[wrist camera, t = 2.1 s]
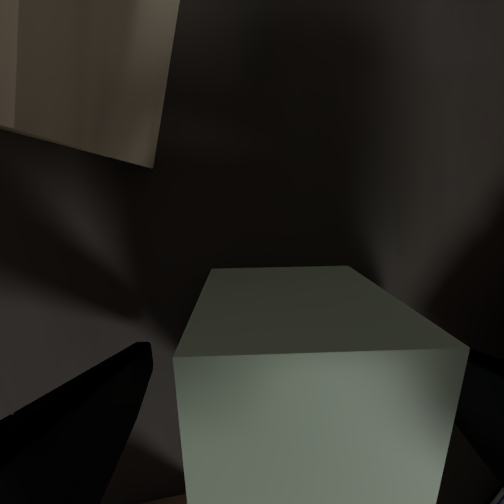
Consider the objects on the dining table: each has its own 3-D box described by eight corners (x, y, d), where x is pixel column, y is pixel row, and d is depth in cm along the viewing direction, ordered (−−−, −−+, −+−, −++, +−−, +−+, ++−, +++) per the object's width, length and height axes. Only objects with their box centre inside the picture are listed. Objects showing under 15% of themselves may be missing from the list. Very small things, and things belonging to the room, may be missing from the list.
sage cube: (217, 384, 10) (193, 565, 5) (211, 267, 9) (172, 357, 4) (337, 380, 10) (425, 551, 5) (347, 265, 9) (469, 347, 4)
